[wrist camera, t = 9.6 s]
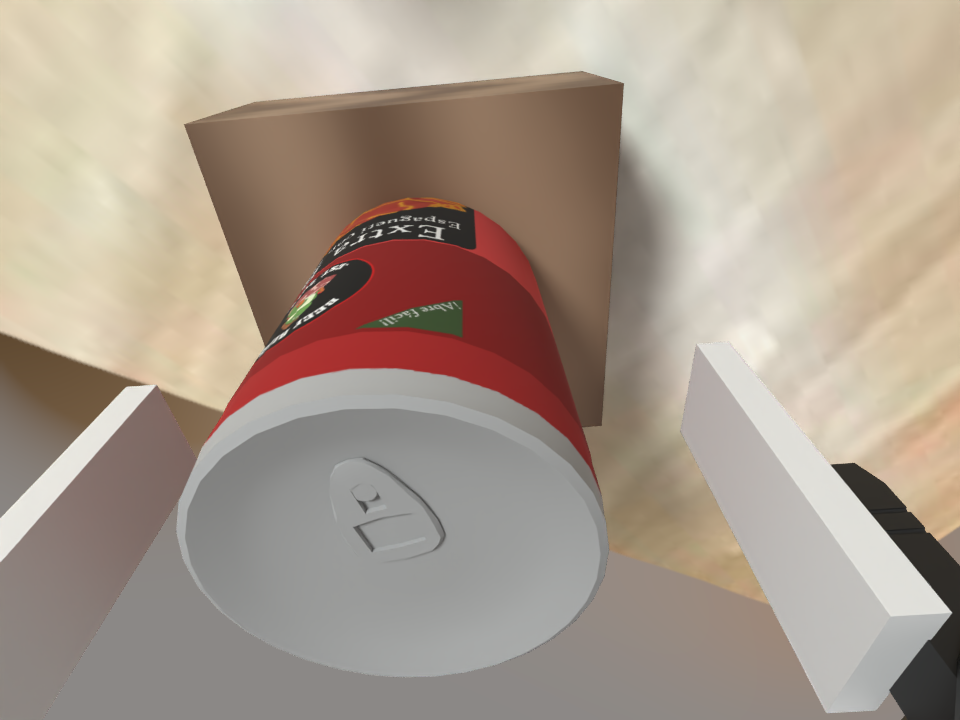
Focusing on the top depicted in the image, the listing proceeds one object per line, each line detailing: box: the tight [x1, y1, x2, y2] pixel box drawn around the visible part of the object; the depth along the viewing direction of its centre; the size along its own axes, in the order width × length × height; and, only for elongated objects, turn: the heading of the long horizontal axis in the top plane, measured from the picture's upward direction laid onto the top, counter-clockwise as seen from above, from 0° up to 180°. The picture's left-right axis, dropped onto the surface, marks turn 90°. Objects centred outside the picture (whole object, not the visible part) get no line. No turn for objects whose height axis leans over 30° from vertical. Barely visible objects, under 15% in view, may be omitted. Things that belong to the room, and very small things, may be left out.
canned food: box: [176, 198, 609, 677], centre depth 14 cm, size 8×8×11 cm
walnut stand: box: [184, 71, 624, 427], centre depth 21 cm, size 13×13×6 cm
